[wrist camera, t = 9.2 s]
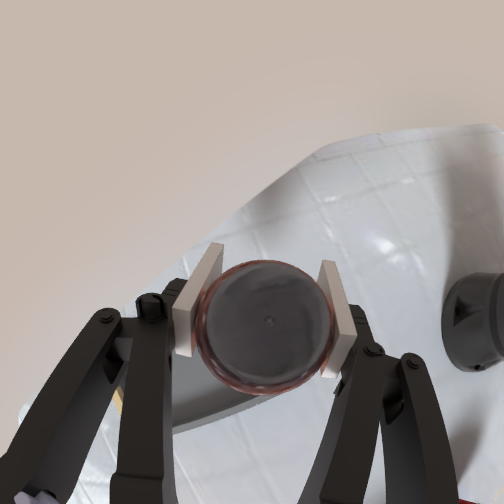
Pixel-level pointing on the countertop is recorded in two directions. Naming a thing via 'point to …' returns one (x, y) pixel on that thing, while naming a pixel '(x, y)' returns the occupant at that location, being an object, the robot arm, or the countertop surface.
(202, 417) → the trough
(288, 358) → the supplement bottle
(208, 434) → the countertop surface
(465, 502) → the plastic cup
